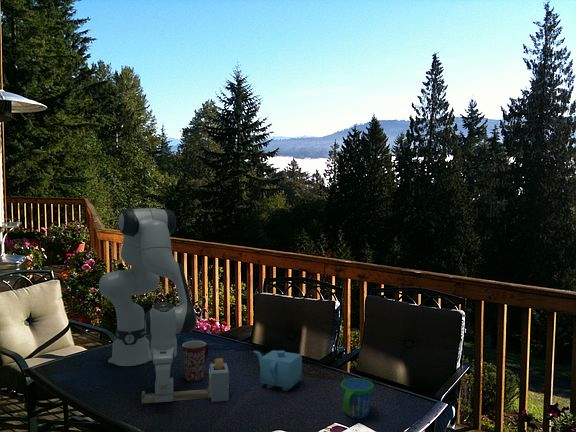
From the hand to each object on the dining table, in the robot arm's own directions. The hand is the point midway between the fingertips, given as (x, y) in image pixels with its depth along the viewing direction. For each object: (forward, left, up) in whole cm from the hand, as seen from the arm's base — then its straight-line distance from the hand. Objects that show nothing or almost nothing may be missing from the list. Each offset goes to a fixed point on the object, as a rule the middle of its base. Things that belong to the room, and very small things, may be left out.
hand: (164, 389), depth 183 cm
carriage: (0, 0, -4) cm, 4 cm away
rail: (0, +4, -4) cm, 5 cm away
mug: (-20, +12, -4) cm, 24 cm away
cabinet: (0, +19, -4) cm, 19 cm away
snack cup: (+24, +62, -4) cm, 67 cm away
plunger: (0, +19, +4) cm, 19 cm away
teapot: (-7, +40, -4) cm, 41 cm away
